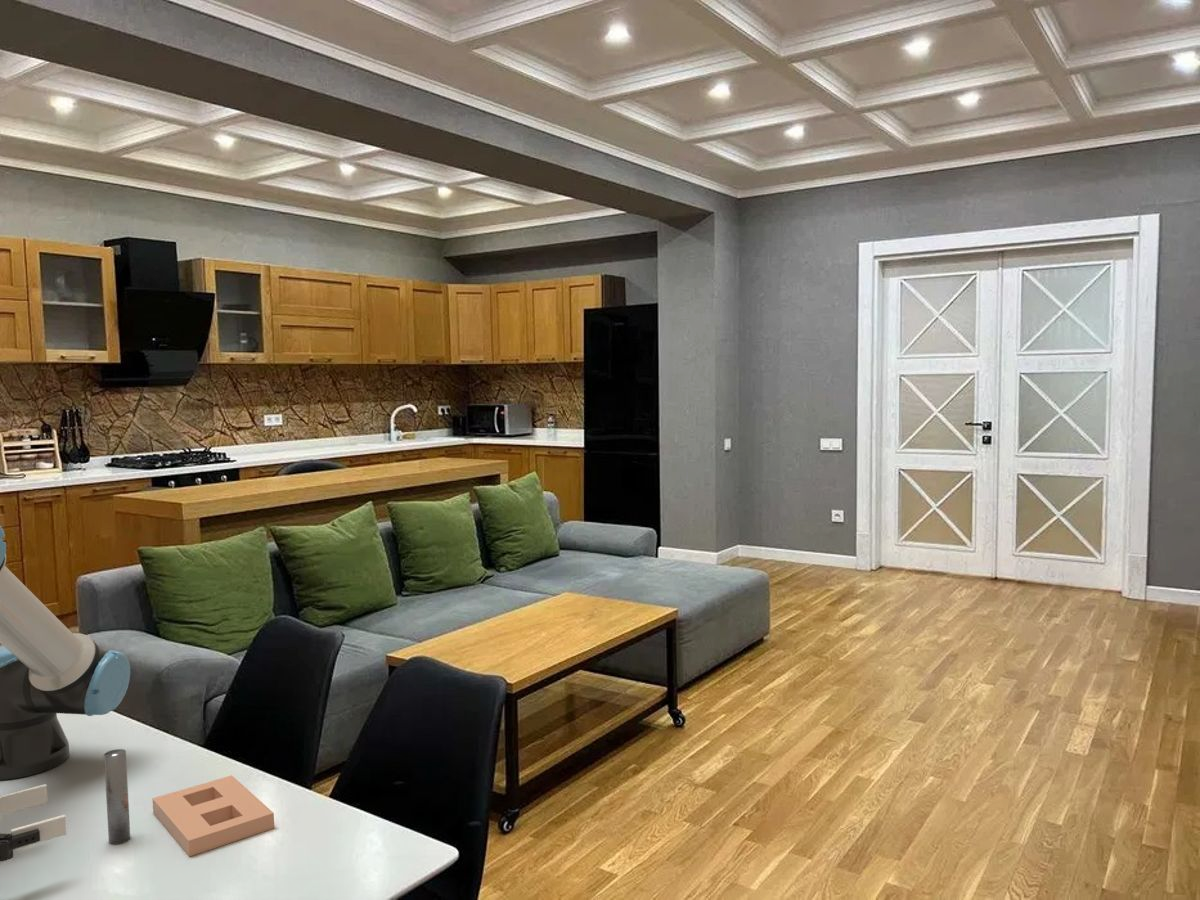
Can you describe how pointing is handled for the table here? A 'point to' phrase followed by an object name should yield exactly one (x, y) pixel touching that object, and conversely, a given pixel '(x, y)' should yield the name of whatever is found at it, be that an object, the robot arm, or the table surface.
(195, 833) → the terracotta block
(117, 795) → the steel dowel
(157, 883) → the table surface
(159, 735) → the table surface
